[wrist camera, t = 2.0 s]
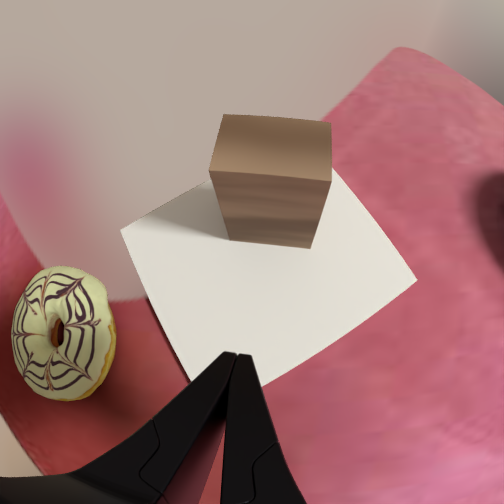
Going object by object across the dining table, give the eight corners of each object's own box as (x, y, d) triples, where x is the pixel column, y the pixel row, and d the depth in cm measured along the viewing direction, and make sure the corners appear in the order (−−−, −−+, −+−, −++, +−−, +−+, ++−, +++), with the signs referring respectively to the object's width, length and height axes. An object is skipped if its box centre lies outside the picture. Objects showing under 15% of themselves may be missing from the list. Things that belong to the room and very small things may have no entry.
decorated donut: (122, 265, 24) (100, 249, 20) (134, 398, 20) (111, 403, 17) (31, 283, 24) (6, 271, 20) (36, 397, 20) (8, 397, 16)
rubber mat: (414, 282, 22) (417, 280, 21) (211, 412, 20) (210, 413, 19) (302, 138, 27) (302, 134, 27) (122, 233, 25) (120, 230, 24)
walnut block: (310, 249, 23) (331, 181, 14) (229, 240, 23) (208, 170, 15) (313, 201, 24) (331, 122, 16) (237, 194, 25) (223, 114, 16)
